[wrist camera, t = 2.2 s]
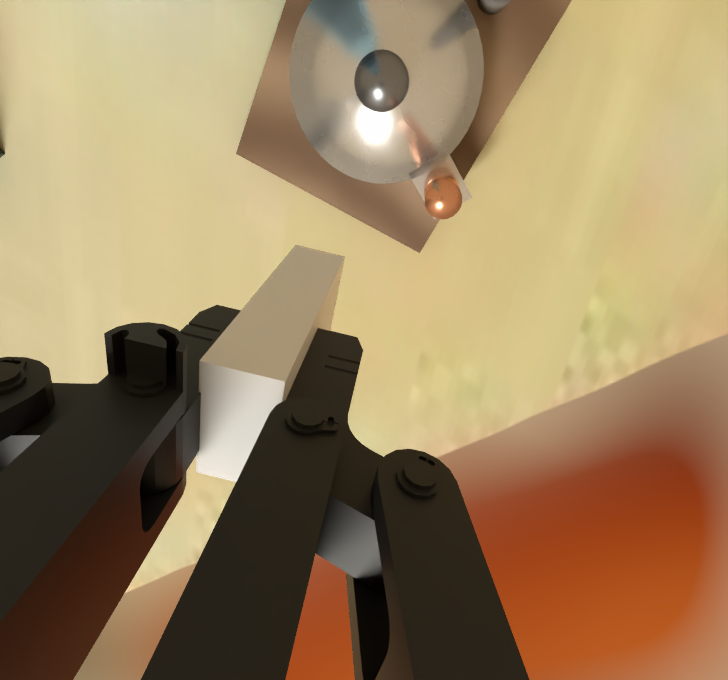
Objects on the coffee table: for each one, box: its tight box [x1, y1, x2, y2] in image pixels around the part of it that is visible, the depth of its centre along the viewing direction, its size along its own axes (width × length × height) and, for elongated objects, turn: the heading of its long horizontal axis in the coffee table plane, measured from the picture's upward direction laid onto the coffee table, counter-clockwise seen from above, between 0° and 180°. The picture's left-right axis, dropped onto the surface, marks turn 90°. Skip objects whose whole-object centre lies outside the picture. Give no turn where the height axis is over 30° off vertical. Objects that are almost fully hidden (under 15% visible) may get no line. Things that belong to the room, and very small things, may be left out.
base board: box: [236, 0, 571, 253], centre depth 24 cm, size 15×13×5 cm
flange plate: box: [289, 0, 484, 219], centre depth 22 cm, size 12×10×6 cm
